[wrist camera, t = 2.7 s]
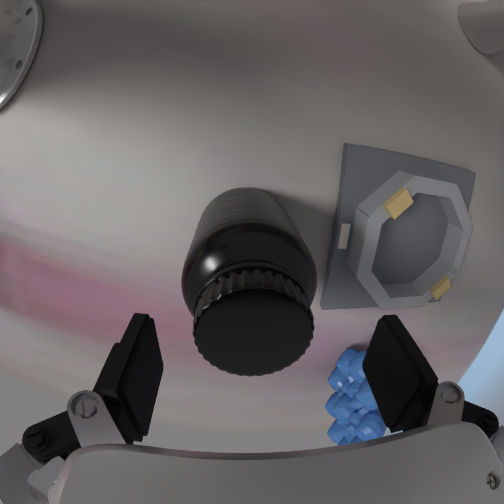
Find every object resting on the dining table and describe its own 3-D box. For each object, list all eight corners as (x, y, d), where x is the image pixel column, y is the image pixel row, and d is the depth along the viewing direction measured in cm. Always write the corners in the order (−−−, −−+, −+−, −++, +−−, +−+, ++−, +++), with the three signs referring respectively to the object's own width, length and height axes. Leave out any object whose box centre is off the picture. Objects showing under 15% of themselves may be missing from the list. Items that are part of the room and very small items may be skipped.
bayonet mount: (344, 143, 19) (364, 148, 16) (470, 170, 20) (495, 180, 17) (319, 304, 25) (330, 330, 22) (435, 297, 26) (452, 316, 23)
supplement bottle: (306, 235, 22) (366, 341, 11) (237, 283, 23) (242, 408, 13) (252, 165, 19) (275, 221, 9) (180, 223, 21) (131, 328, 10)
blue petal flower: (355, 393, 32) (382, 469, 21) (307, 398, 31) (326, 482, 20) (388, 326, 27) (439, 413, 16) (332, 329, 26) (372, 432, 16)
